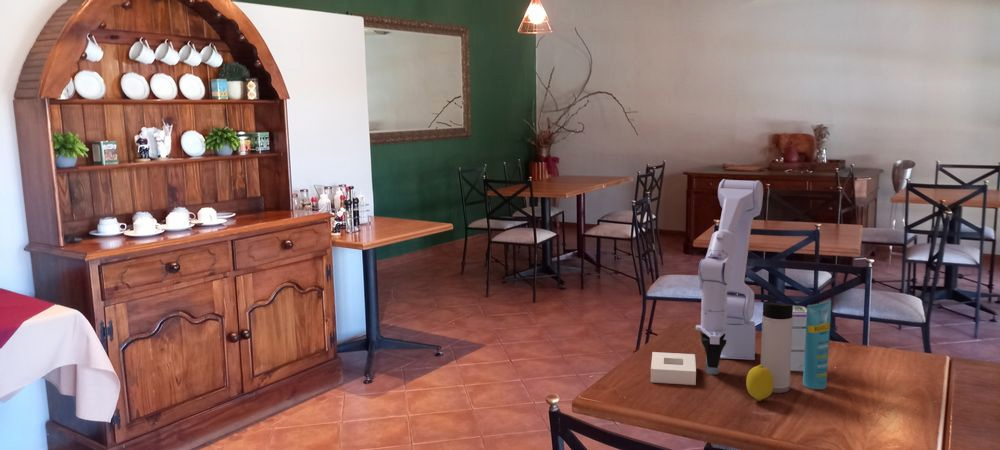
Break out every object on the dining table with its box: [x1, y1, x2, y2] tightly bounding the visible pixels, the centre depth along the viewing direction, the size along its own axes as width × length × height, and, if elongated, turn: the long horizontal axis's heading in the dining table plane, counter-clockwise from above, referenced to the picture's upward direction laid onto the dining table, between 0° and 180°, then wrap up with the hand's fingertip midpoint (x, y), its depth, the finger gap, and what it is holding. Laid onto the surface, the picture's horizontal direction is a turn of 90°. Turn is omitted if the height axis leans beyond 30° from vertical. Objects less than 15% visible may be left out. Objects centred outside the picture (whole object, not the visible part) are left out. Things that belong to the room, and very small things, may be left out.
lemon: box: [745, 364, 774, 402], centre depth 163 cm, size 6×6×8 cm
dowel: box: [705, 356, 720, 376], centre depth 180 cm, size 3×3×7 cm
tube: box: [802, 300, 832, 390], centre depth 169 cm, size 7×5×19 cm, turn 123°
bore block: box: [650, 351, 697, 386], centre depth 179 cm, size 10×12×3 cm
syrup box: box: [790, 305, 807, 372], centre depth 182 cm, size 6×6×14 cm
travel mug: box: [760, 301, 794, 394], centre depth 168 cm, size 6×7×20 cm
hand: (712, 364), depth 180 cm, fingers closed on dowel, 3 cm apart
